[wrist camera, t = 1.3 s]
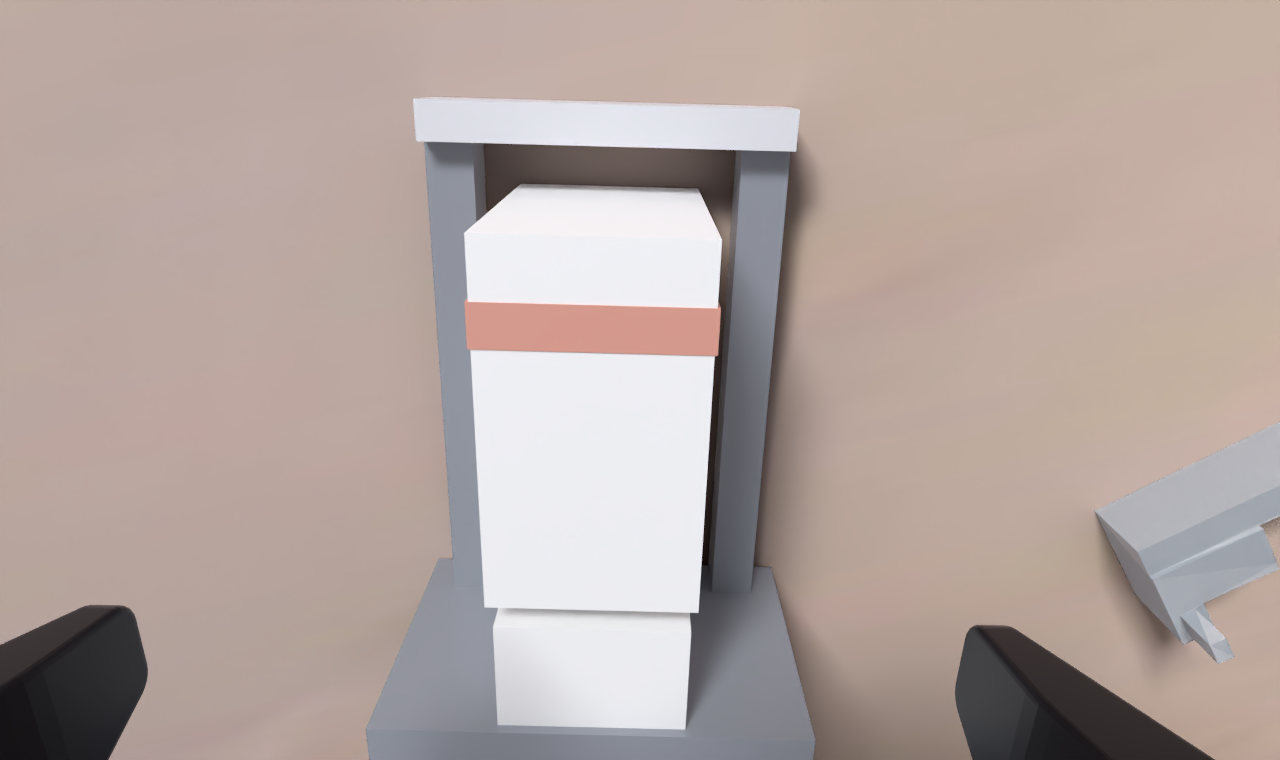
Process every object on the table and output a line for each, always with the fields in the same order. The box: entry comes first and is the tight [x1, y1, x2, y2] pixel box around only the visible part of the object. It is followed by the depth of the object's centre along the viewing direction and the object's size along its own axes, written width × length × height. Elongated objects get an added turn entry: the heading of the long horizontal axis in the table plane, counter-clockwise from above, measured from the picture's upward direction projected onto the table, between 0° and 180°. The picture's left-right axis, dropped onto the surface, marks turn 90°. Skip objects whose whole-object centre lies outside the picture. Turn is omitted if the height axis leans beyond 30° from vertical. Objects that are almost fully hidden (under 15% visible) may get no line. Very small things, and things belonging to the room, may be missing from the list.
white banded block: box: [464, 184, 722, 613], centre depth 16 cm, size 7×4×6 cm, turn 179°
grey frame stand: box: [366, 97, 816, 760], centre depth 17 cm, size 17×9×6 cm, turn 179°
